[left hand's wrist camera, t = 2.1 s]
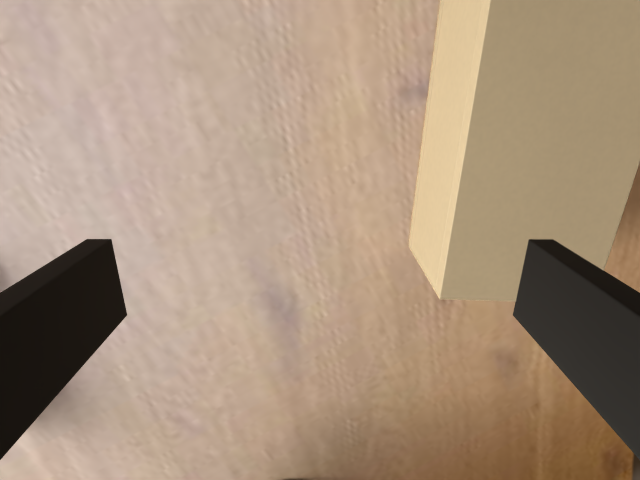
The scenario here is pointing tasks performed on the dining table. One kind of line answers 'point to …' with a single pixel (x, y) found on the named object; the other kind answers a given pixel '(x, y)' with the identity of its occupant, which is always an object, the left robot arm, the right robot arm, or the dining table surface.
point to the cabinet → (525, 138)
